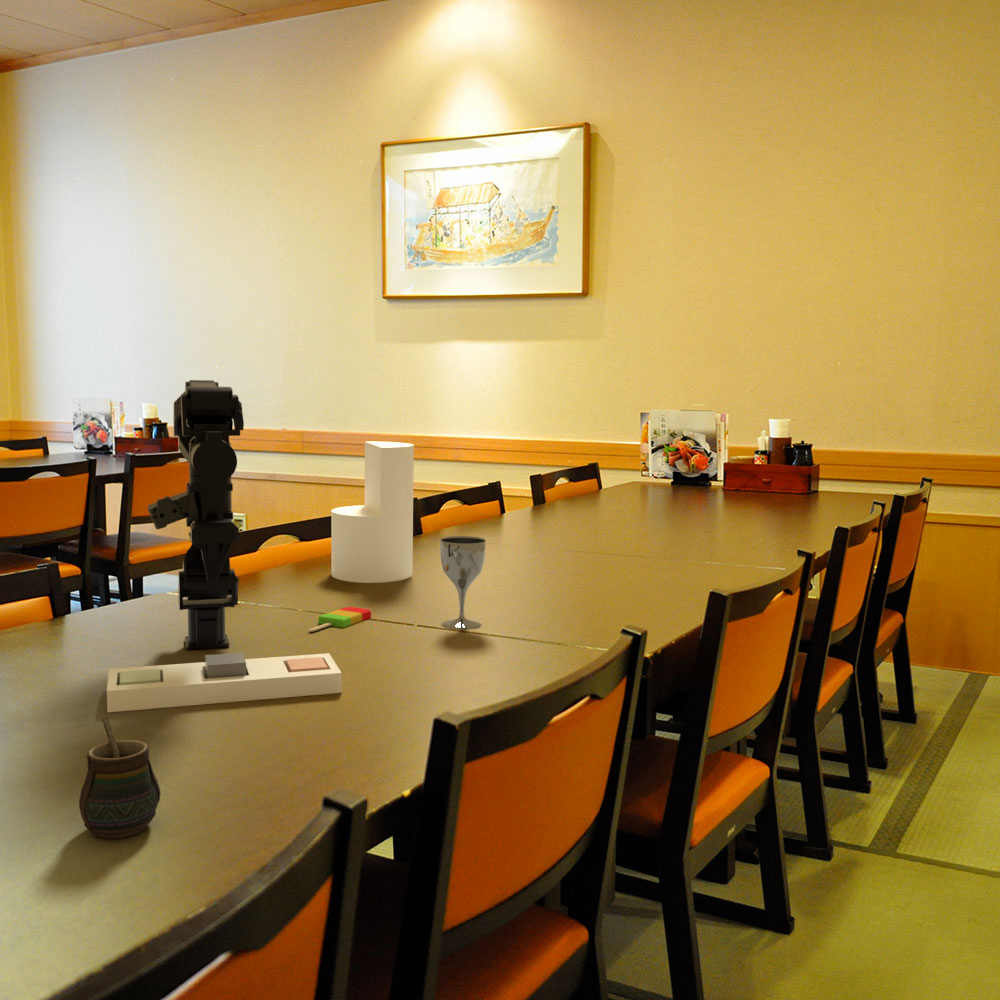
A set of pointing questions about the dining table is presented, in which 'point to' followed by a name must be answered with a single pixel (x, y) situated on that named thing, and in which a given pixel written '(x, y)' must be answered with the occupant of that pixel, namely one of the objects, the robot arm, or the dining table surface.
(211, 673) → the charcoal key
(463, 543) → the wine glass
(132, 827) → the mate gourd
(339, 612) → the popsicle
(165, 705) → the cream block puzzle board
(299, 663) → the terracotta key
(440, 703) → the dining table surface
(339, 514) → the cylinder
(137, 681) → the sage key
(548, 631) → the dining table surface
